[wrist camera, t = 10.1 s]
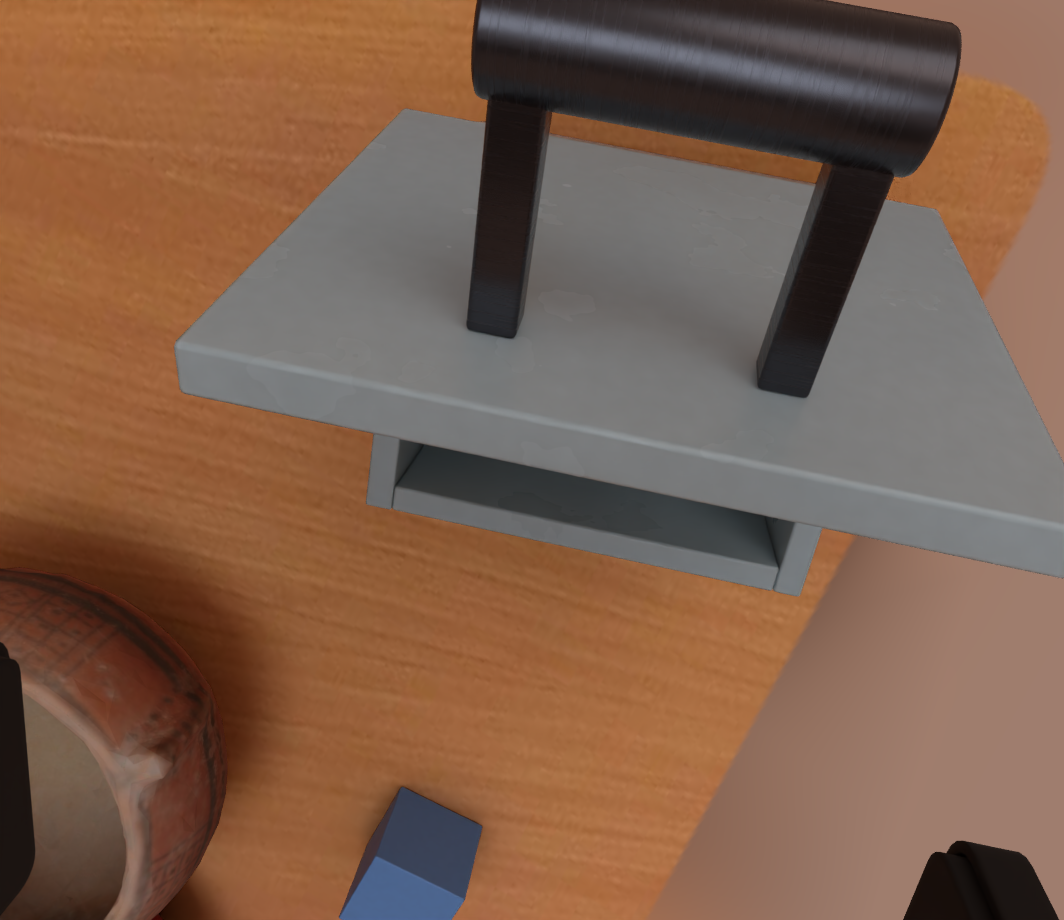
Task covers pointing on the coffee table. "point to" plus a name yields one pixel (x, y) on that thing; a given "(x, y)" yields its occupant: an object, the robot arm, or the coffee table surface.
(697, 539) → the freezer
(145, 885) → the bowl
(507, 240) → the freezer lid
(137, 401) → the coffee table surface
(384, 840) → the blue cube
